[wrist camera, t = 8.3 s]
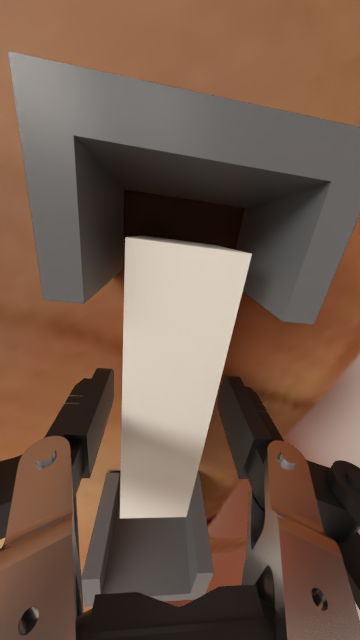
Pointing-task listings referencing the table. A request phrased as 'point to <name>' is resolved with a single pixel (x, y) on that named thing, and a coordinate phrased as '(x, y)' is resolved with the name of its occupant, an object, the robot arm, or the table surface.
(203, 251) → the white rectangular block
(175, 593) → the cap
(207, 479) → the table surface
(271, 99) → the table surface
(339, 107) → the table surface
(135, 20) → the table surface
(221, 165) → the cap
